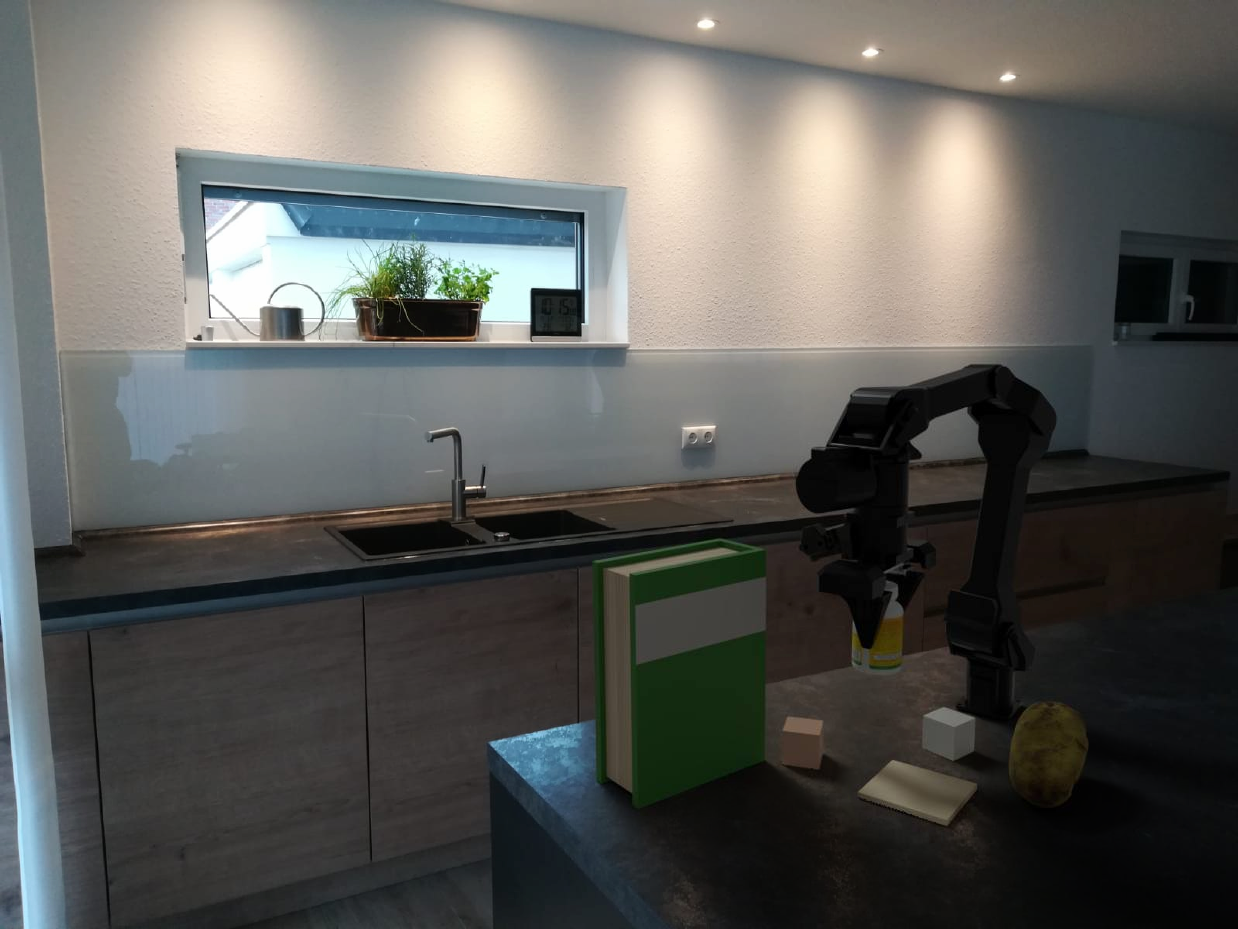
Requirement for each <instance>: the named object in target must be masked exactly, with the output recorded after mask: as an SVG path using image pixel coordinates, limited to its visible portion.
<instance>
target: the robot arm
mask: <svg viewBox="0 0 1238 929" xmlns="http://www.w3.org/2000/svg"><path fill="white" fill-rule="evenodd" d="M849 397H850V398H849V400H848V401H847V403H846V405H845V407H844V409H843V411H842V413H841V415H840V417H839V419H838V421H837V423H836V425H835V426H834V428H833V430H832V433H831V434H830V436H829V438H828V440H827V442H826V444H825V446H812V447H811V448H810V459H808V460H806V461H804V463H803V464H802V465H801V467H800V468H799V471H798V473H797V476H796V478H795V490H796V494H797V498H798V500H799V502H800V503H801V505H802V506H803V507H804V508H805V509H806V510H807V511H809V512H810V513H813V514H816V515H819V514H826V513H833V512H838V511H844V510H849V509H850V510H851V509H853V510H851V511H848V512H845V513H846V514H844V516H843V523H841V524H838V525H833V526H830V527H824V526H823V524H821V523H816V524H813V525H808V526H805V527H802V529H801V534H800V535H801V536H800V537H799V539H800V540H799V541H800V544H799V545H798V549H799V550H800V552H802V553H803V554H805V555H806V556H808V558H809V562H810V563H816V562H819V561H820V560H821V559H824V558H829V557H834V556H837V555H840V559H837V560H834V561H832V562H830V563H828V564H825V565H824V566H822V567H821V568H820V569H819V570H818V571H817V572H816V583H815V585H816V587H815V588H816V591H817V593H818V592H820V593H823V594H829V595H833V596H834V595H836V596H839V597H840V598H841V599H842V600H843V601H845V602H846V604H847V607H848V609H849V612H850V614H851V617H852V622H853V621H854V624H855V628H856V631H857V634H858V637H859V641H860V644H861V647H862V648H865V649H871V648H872V647H873V645H874V642H875V640H876V637H877V635H878V632H879V629H880V626H881V624H882V621H883V618H884V615H885V613H886V610H887V607H888V605H889V602H890V599H891V596H892V593H893V592H892V591H886V590H884V589H885V586H886V581H890V582H894V583H896V584H897V585H898V596H897V598H896V599H895V601H897V602H898V603H899V604H900V605H901V606H902V608H903V615H905V612H906V610H907V608H908V607H909V604H910V602H911V601H912V599H913V597H914V595H915V593H916V592H917V590H918V588H919V586H920V585H921V583H922V581H923V579H924V578H926V577H925V576H926V573H925V572H922V571H916V570H914V565H913V564H920V567H921V569H922V570H925V571H928V570H930V569H932V568H934V567H936V566H937V549H936V548H935V546H934V545H932V543H931V542H930V541H928V540H922V539H921V540H920V539H914V538H908V525H909V524H910V523H912V522H914V521H915V513H916V512H915V511H911V510H909V494H910V493H909V489H910V488H909V486H910V485H909V484H910V461H916V460H917V461H918V460H921V459H922V457H923V454H922V452H921V451H920V450H919V449H918V448H917V447H915V446H914V445H913V443H912V442H911V441H912V440H914V439H916V437H918V436H920V435H922V434H923V433H925V432H926V431H927V430H928V429H929V426H930V422H932V421H933V420H935V419H937V418H940V417H943V416H946V415H948V414H951V413H954V412H957V411H959V410H962V409H963V410H964V409H966V408H967V410H966V412H967V415H968V416H969V417H970V418H971V419H972V420H973V422H974V423H975V424H976V425H977V426H978V427H977V428H978V429H977V443H978V445H979V448H980V450H981V453H982V454H983V457H984V460H985V462H986V470H985V478H984V482H983V489H982V496H981V503H980V506H979V507H980V508H979V513H978V520H977V526H976V532H975V538H974V545H973V550H972V551H973V552H972V557H971V564H970V568H969V575H968V578H967V579H966V580H965V582H964V583H963V584H962V585H961V586H960V587H959V588H958V589H954V588H952V589H951V590H950V591H949V592H948V596H947V605H946V606H947V607H946V610H945V614H944V617H943V621H944V632H945V635H946V638H947V643H948V647H949V649H948V650H949V654H950V655H952V656H958V657H961V658H963V659H965V676H964V677H965V683H964V685H965V686H964V695H963V696H962V697H960V699H958V700H957V702H955V703H954V707H955V709H957V710H961V711H965V712H970V713H974V714H978V715H979V714H980V715H984V716H987V717H990V718H991V717H993V718H997V719H999V720H1000V719H1001V720H1005V721H1008V720H1010V719H1011V718H1012V717H1013V716H1014V715H1015V713H1017V711H1018V710H1019V709H1020V708H1021V707H1022V706H1023V701H1022V699H1021V700H1020V699H1017V698H1014V696H1015V679H1016V677H1015V675H1016V672H1027V671H1029V667H1031V666H1032V665H1033V661H1034V658H1035V654H1036V648H1035V646H1034V645H1033V643H1032V642H1031V641H1030V639H1029V638H1028V635H1026V634H1025V632H1024V630H1023V628H1022V614H1023V612H1022V611H1023V610H1022V606H1021V604H1020V602H1019V600H1018V598H1017V596H1016V593H1015V591H1014V589H1013V579H1014V572H1015V565H1016V559H1017V554H1018V550H1019V549H1018V547H1019V543H1020V542H1019V541H1020V537H1021V535H1020V534H1021V530H1022V523H1023V517H1024V510H1025V505H1026V500H1027V499H1026V498H1027V492H1028V486H1029V480H1030V475H1031V474H1030V473H1031V472H1032V471H1031V470H1032V469H1033V468H1034V467H1035V466H1036V465H1037V463H1039V461H1040V460H1041V459H1042V457H1043V456H1044V455H1045V454H1046V453H1048V451H1049V447H1050V445H1051V440H1052V437H1053V433H1054V431H1055V430H1056V427H1057V426H1056V425H1057V412H1056V411H1055V408H1054V407H1053V406H1052V404H1051V403H1050V402H1049V400H1048V399H1047V398H1046V397H1045V395H1044V394H1043V392H1041V391H1040V390H1039V389H1037V388H1035V387H1034V386H1032V385H1030V384H1029V383H1026V382H1025V381H1023V380H1021V379H1020V378H1018V377H1016V375H1015V374H1014V373H1013V372H1012V370H1011V368H1009V367H1007V366H1005V365H1003V364H1001V363H971V364H968V365H967V366H963V367H962V368H959V369H957V370H955V371H951V372H948V373H943V374H942V375H938V376H935V377H931V378H928V379H925V380H923V381H919V382H915V383H912V384H909V385H906V386H905V385H902V386H899V385H898V386H895V385H894V386H864V387H858V388H856V389H855V390H854V391H852V392H851V393H850V395H849Z"/></svg>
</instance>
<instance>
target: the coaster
mask: <svg viewBox="0 0 1238 929" xmlns="http://www.w3.org/2000/svg"><path fill="white" fill-rule="evenodd" d="M977 790H978V783H976V782H972V781H968V780H964V779H961V778H957V777H954V776H951V775H948V774H945V773H940V772H936V771H933V770H930V769H925V768H923V767H919V766H916V765H912V764H909V763H904V762H901V761H897V760H894V759H892V760H890V761H889V763H887V764H886V765H885V766H884V767H883V768H881V770H880V771H879V772H878V773H876V775H875V776H874V777H872V778H871V779H870V780H869V781H868V782H867V783H866V784H865V785H864V786H862V788H860V789H859V790H858V792H857V798H858V797H860V798H862V799H861V800H863V799H866V800H865V801H867V802H870V801H872V802H871V803H873V802H874V803H873V804H876V803H877V805H879V804H881V805H880V806H882V805H883V807H885V806H886V807H885V808H888V807H890V808H889V809H892V808H894V809H893V810H895V809H897V810H896V811H898V810H900V811H899V812H901V811H904V812H906V813H905V814H907V813H908V815H910V814H912V815H911V816H913V815H914V816H915V817H917V816H918V817H917V818H919V819H923V818H924V819H923V820H926V819H927V820H926V821H929V822H933V823H935V822H936V824H940V825H942V826H946V827H948V826H949V824H950V823H951V822H952V820H954V819H955V817H956V815H958V813H959V812H960V811H961V810H962V809H963V807H964V806H965V805H966V803H967V802H968V801H969V800H970V799H971V797H972V796H973V795H974V793H975V792H976V791H977ZM860 798H859V799H860ZM964 804H965V805H964ZM884 805H885V806H884ZM904 812H903V813H904ZM950 821H951V822H950Z"/></svg>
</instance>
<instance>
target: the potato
mask: <svg viewBox="0 0 1238 929" xmlns="http://www.w3.org/2000/svg"><path fill="white" fill-rule="evenodd" d="M1086 730H1087V728H1086V722H1085V718H1084V717H1083V715H1082V713H1080V712H1079V711H1078V710H1077V709H1075V708H1073V707H1072V706H1070V705H1068V704H1066V703H1065V704H1064V703H1062V702H1060V701H1053V700H1052V701H1051V700H1049V701H1048V700H1047V701H1046V700H1045V701H1037V702H1035V703H1033V704H1031V705H1029V706H1028V707H1027V708H1026V709H1025V710H1024V711H1023V712H1022V714H1021V715H1020V717H1019V718H1018V720H1017V722H1016V725H1015V729H1014V732H1013V736H1012V738H1011V743H1010V751H1009V752H1010V753H1009V758H1008V772H1009V777H1010V781H1011V784H1012V786H1013V787H1014V789H1015V791H1016V792H1017V793H1018V794H1019V796H1021V797H1022V798H1023V799H1025V800H1026V801H1027V802H1028V803H1030V804H1032V805H1034V806H1036V807H1038V808H1040V809H1048V808H1049V809H1051V808H1056V807H1058V806H1061V805H1062V804H1064V803H1066V802H1067V801H1068V799H1070V798H1071V797H1072V794H1073V793H1072V791H1073V789H1074V787H1075V784H1077V783H1078V782H1079V780H1080V778H1081V774H1082V773H1083V771H1084V769H1083V767H1084V765H1085V762H1086V760H1087V754H1088V751H1089V739H1088V737H1087V731H1086Z"/></svg>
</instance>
